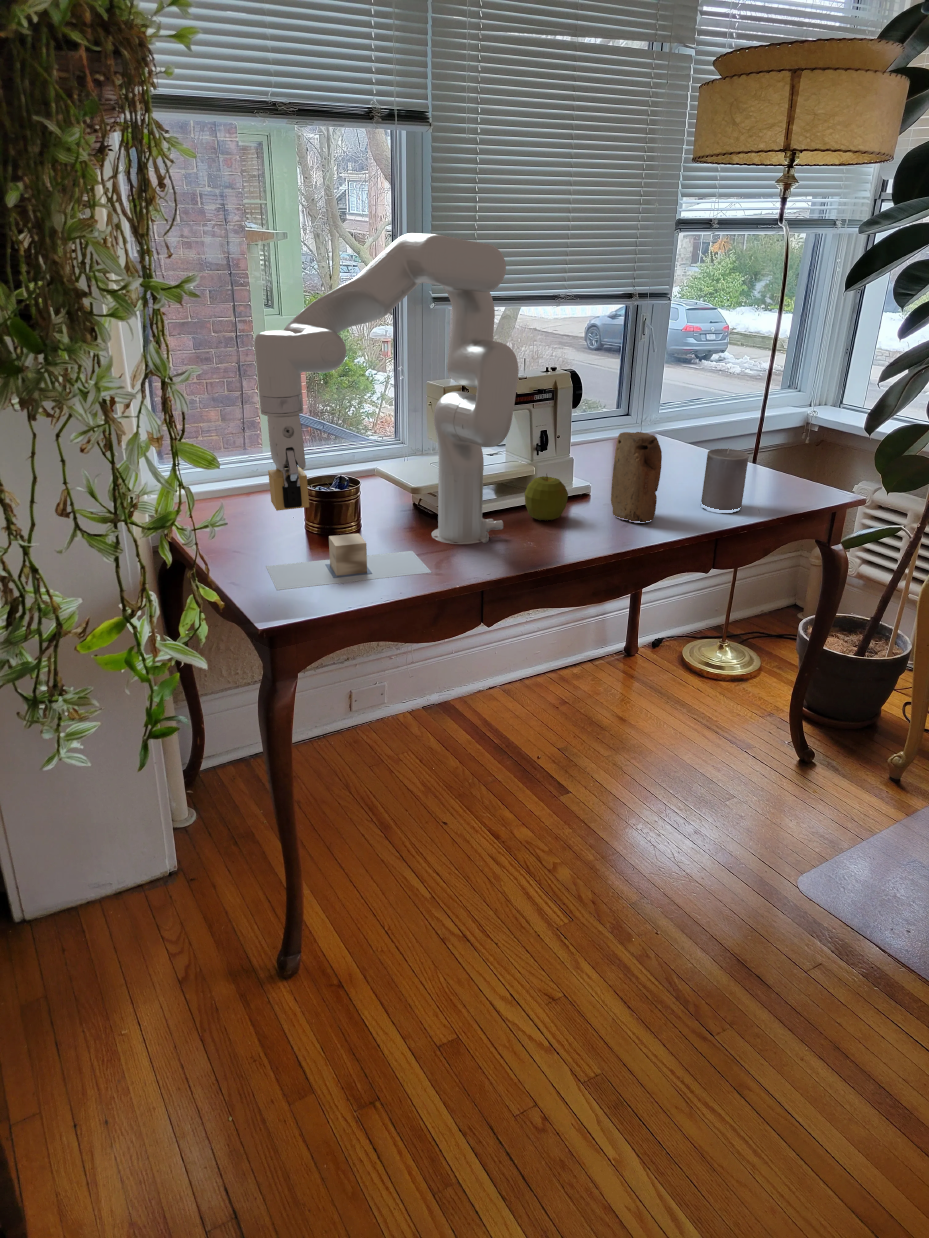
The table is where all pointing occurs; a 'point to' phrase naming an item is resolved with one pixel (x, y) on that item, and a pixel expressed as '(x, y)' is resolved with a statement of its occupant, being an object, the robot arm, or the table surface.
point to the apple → (545, 498)
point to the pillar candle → (724, 479)
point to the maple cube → (348, 554)
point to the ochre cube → (277, 490)
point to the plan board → (324, 574)
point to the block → (636, 476)
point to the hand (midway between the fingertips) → (289, 500)
